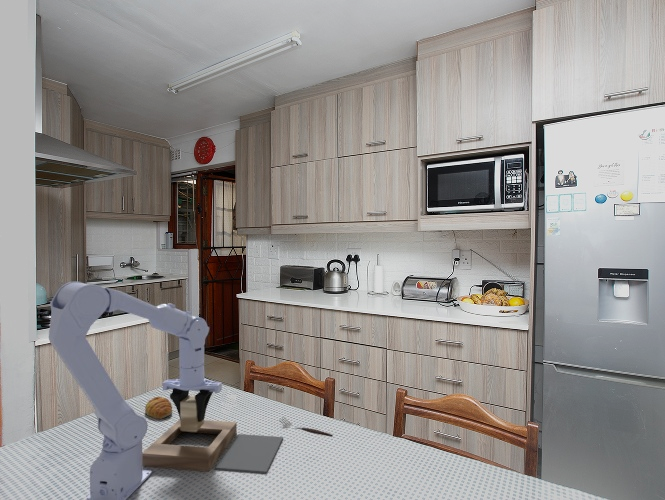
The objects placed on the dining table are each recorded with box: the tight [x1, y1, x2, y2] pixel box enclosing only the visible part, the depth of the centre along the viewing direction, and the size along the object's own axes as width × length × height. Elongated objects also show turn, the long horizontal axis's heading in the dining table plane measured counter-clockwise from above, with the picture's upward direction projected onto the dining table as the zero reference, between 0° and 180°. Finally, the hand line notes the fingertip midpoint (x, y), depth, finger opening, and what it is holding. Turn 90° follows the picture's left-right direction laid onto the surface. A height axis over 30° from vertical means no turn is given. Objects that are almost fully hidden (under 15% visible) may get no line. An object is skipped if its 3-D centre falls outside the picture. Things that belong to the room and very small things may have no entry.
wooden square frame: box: [142, 418, 238, 472], centre depth 88 cm, size 16×16×3 cm
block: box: [179, 394, 205, 433], centre depth 88 cm, size 4×4×7 cm
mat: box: [214, 433, 284, 474], centre depth 86 cm, size 14×12×1 cm
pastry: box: [144, 396, 173, 420], centre depth 107 cm, size 9×7×4 cm
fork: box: [278, 416, 333, 437], centre depth 97 cm, size 3×16×2 cm, turn 66°
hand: (192, 419), depth 88 cm, fingers closed on block, 4 cm apart
